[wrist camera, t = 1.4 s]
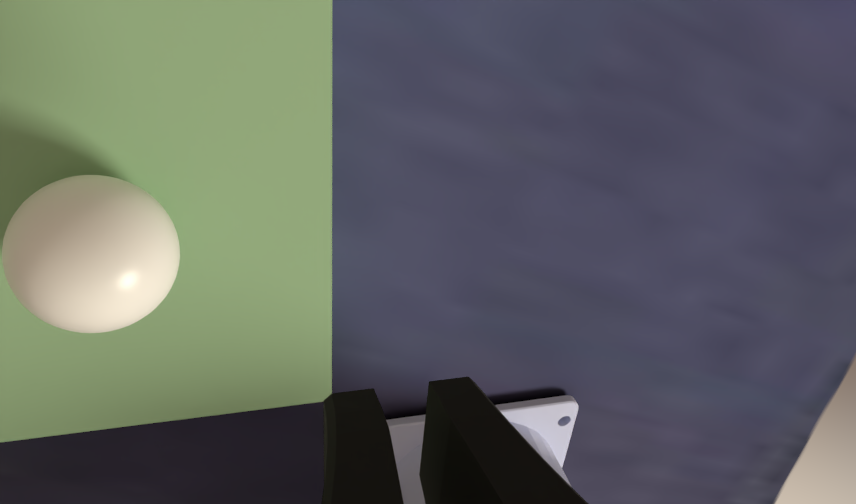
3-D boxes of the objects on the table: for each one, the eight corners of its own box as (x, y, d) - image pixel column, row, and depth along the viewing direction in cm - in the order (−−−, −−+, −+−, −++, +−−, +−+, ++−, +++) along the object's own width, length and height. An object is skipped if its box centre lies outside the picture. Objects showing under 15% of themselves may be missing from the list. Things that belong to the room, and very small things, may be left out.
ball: (191, 270, 16) (184, 357, 13) (44, 281, 15) (6, 375, 12) (174, 147, 14) (163, 218, 12) (8, 151, 13) (-46, 229, 11)
